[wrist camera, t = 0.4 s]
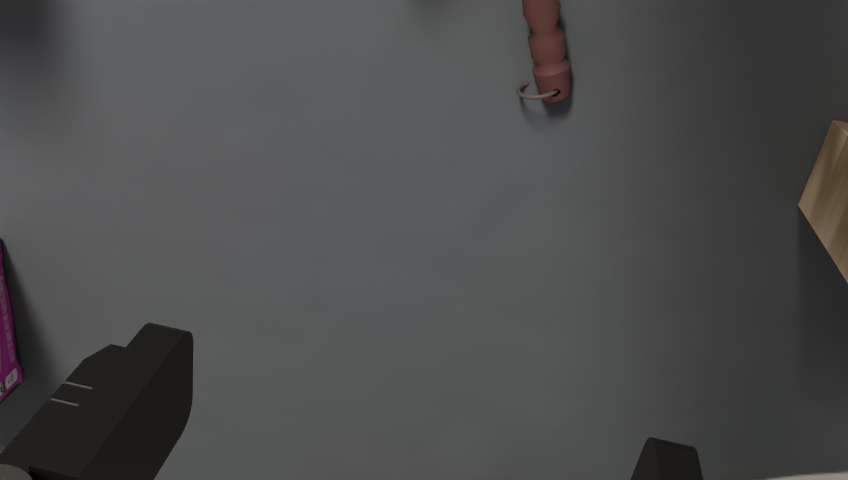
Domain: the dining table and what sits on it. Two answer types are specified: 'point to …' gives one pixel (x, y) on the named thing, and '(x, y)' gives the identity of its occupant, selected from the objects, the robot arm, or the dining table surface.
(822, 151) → the socket
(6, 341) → the candy bar box
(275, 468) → the dining table surface
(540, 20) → the coffee pot
